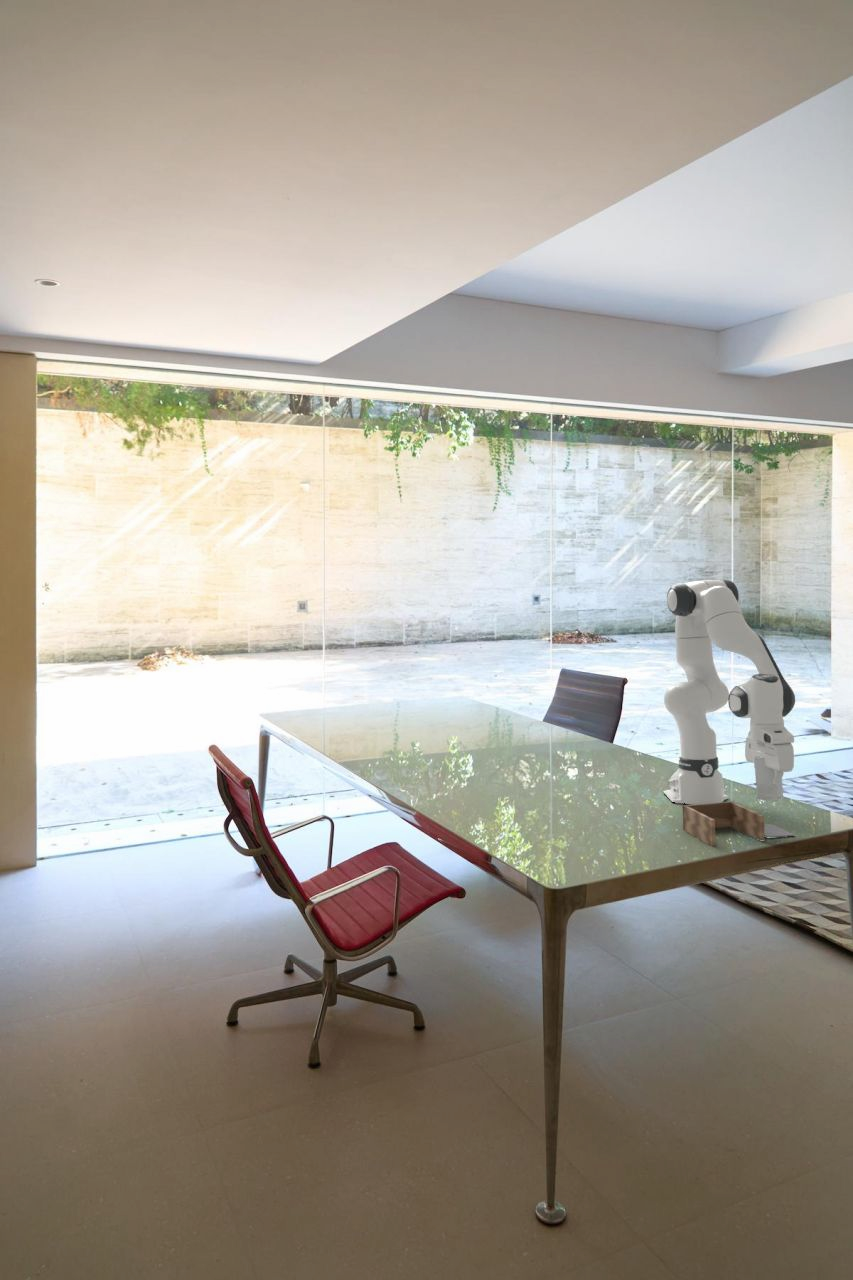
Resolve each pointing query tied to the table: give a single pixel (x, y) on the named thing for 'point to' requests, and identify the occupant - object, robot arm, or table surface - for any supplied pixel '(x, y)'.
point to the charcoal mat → (775, 831)
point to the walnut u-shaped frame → (721, 820)
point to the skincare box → (766, 782)
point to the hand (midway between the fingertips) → (769, 782)
